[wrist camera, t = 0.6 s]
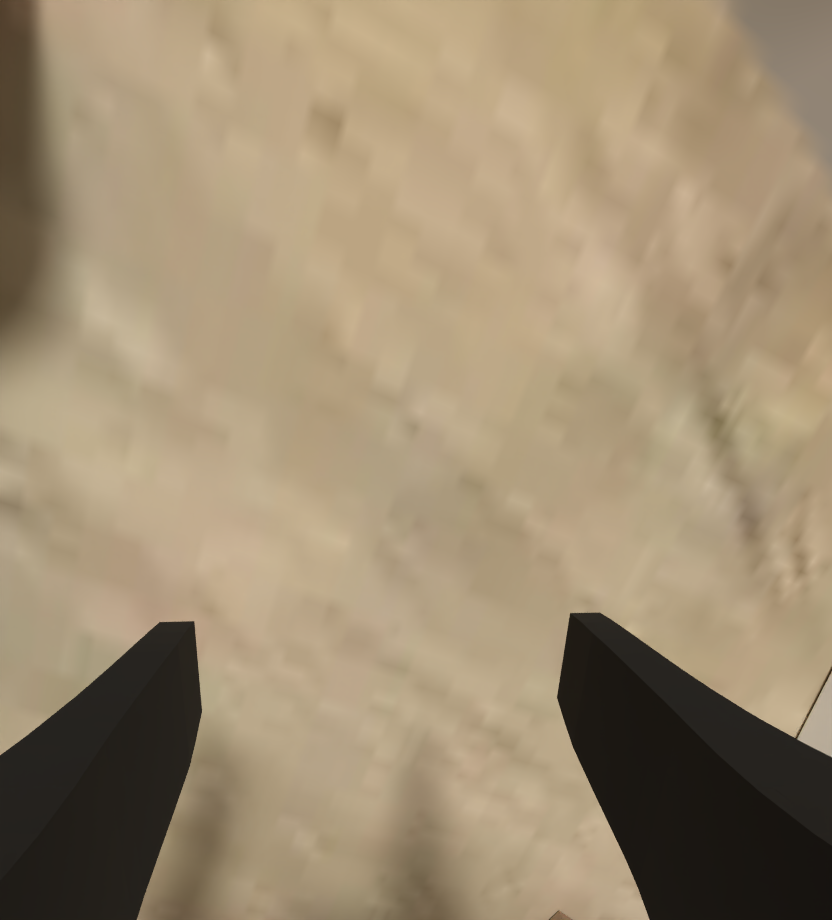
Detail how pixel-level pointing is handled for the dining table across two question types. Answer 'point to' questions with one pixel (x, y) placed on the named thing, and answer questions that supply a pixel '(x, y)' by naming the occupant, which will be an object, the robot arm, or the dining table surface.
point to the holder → (560, 916)
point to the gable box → (820, 722)
